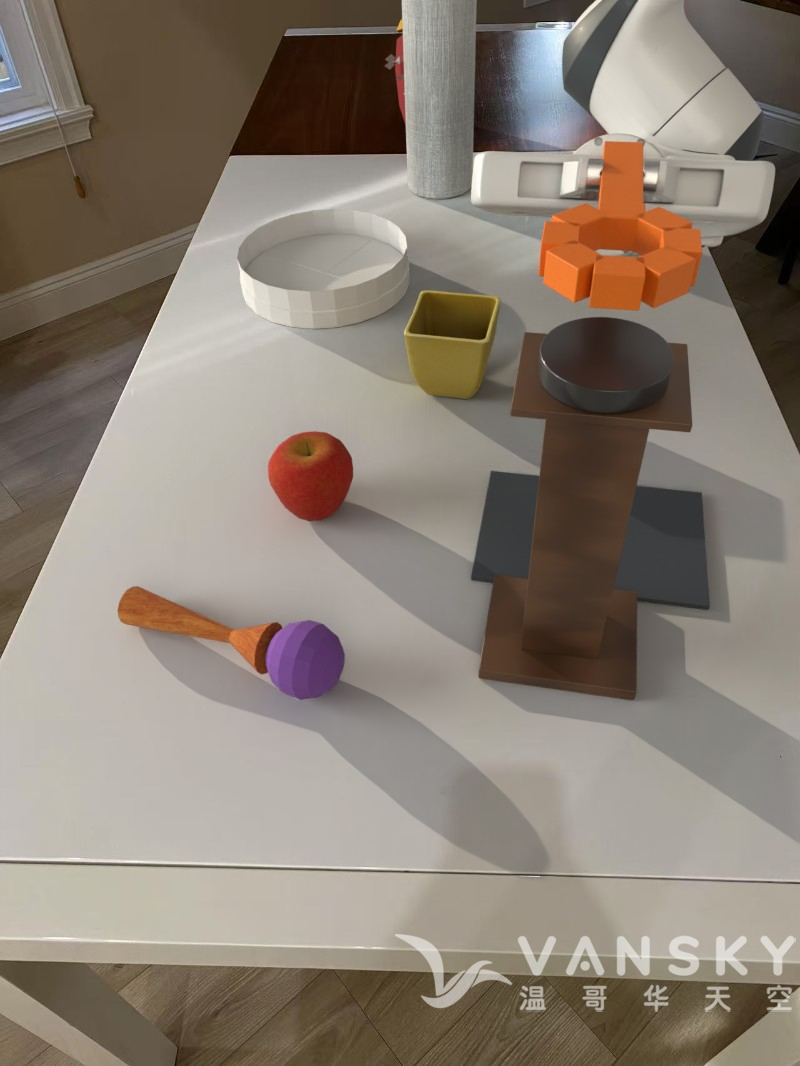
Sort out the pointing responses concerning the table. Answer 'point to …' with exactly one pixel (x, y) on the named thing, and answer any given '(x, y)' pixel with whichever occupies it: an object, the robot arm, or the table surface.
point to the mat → (648, 551)
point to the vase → (439, 95)
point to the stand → (583, 503)
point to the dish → (324, 268)
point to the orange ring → (620, 243)
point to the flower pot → (451, 341)
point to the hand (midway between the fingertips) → (622, 174)
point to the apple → (311, 474)
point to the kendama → (251, 642)
